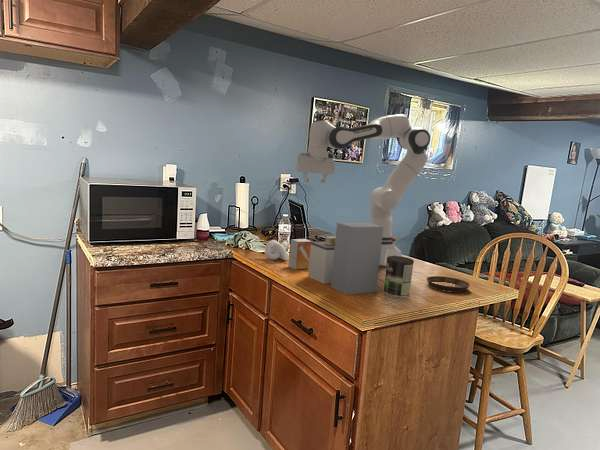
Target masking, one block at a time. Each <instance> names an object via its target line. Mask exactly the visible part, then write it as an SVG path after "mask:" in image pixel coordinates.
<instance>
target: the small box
mask: <svg viewBox="0 0 600 450" xmlns="http://www.w3.org/2000/svg"><path fill="white" fill-rule="evenodd" d="M311 242H313V241H312V240H309V239H306V238H296V239H294V238H293V239H292V238H291V239H290V245H289V246H290V247H289V259H288V267H289V268H291V269H293V270H304V269H308V270H309V261H310V249H311Z"/></svg>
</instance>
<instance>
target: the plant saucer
mask: <svg viewBox="0 0 600 450" xmlns="http://www.w3.org/2000/svg"><path fill="white" fill-rule="evenodd" d="M426 281H427V283H428V284H429V286H430V287H431V286H432V287H431V288H433V287H434V288H433V289H435V288H437V289H436V290H438V289H440V290H439V291H442V290H445V291H444V292H447V291H451V292H450V293H462V291H463V292H465V291H467V289H468V288H469V287H470V286H471V284H470V283H469V282H467V281H465V280H463V279H459V278H457V277H456V278H454V277H449V276H440V275H439V276H438V275H436V276H435V275H433V276H428V277H427V278H426ZM432 282H447V283H452V284H455V287H453V286H444V285H439V284H435V283H432Z"/></svg>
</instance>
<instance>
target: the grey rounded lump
mask: <svg viewBox="0 0 600 450" xmlns="http://www.w3.org/2000/svg"><path fill="white" fill-rule="evenodd" d="M288 247H289V243H288V242H287V241H285V240H284V241H282V242H281V243H280V242H278V241H277V240H275V239H273V240H270V241H268V242H267V243H266V245H265V247H264V253H265V256H266V257H267V259H269V260H270V261H276V260H277V259H279V258H280V260H283V261H286V260H288V252H287V248H288Z"/></svg>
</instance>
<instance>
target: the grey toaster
mask: <svg viewBox="0 0 600 450" xmlns="http://www.w3.org/2000/svg"><path fill="white" fill-rule="evenodd" d="M334 250H335V245H328V244H326V241H312V242H311V249H310V261H309V269H308V273H307V274H308V277H309V278H311V279H313V280H315V281H318V282H319V283H321V284H325V285H326V284H331V282H332V272H333V261H334Z"/></svg>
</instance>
